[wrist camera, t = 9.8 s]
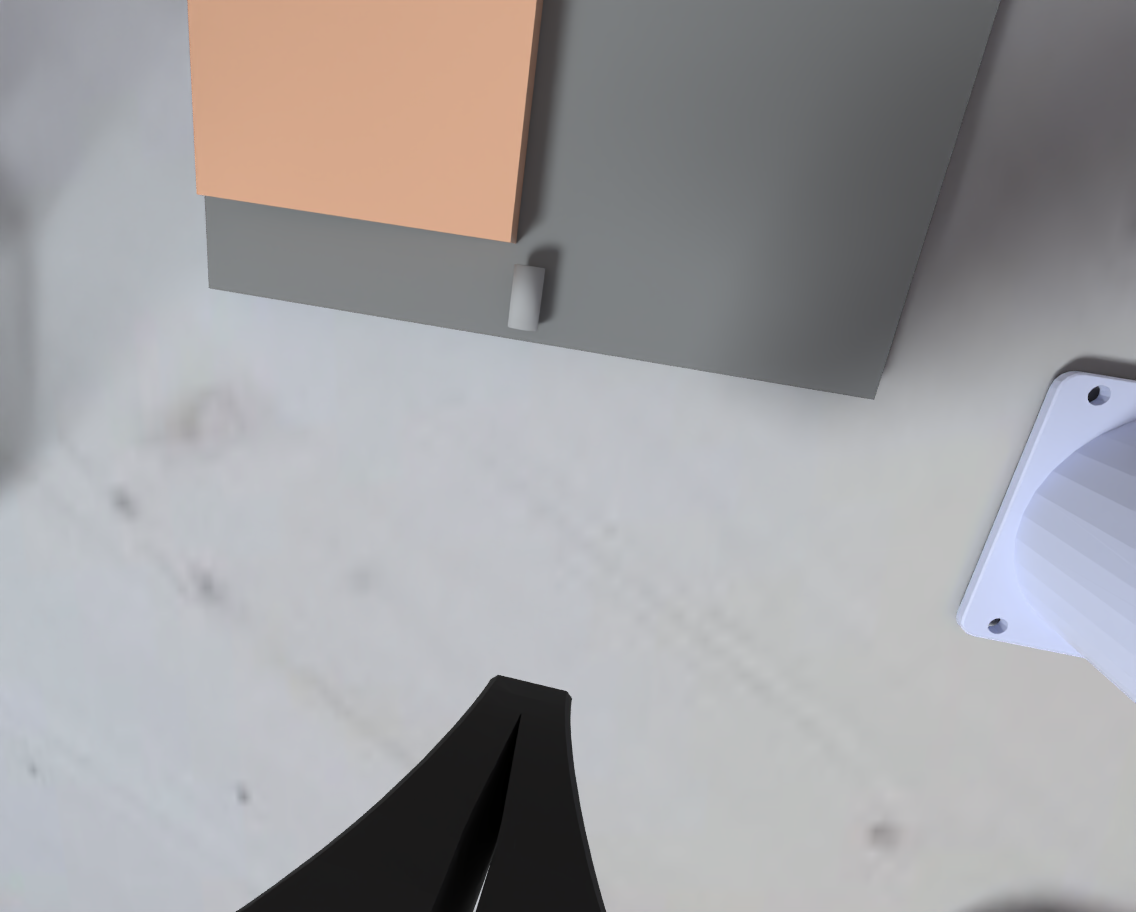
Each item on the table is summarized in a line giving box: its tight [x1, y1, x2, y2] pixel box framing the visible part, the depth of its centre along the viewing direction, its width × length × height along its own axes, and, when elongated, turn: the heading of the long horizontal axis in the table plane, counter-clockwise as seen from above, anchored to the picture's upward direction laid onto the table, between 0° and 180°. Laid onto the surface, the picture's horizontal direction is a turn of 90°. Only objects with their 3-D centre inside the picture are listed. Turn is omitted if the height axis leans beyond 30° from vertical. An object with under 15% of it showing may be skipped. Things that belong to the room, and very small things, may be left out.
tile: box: [187, 0, 543, 244], centre depth 14 cm, size 8×7×1 cm
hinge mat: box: [205, 0, 1000, 400], centre depth 15 cm, size 19×12×2 cm, turn 81°
